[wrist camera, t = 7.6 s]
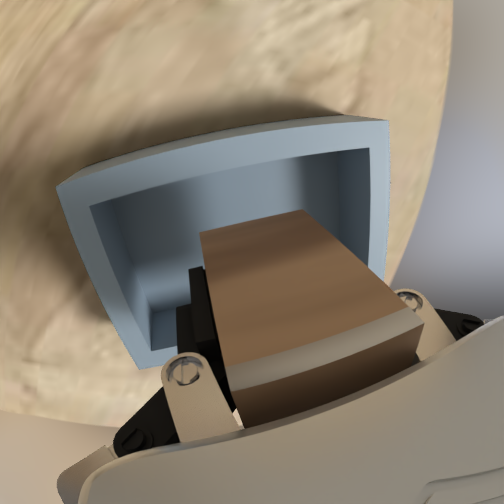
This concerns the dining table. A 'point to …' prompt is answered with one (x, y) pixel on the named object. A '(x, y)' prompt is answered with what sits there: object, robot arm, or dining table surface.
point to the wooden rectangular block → (300, 317)
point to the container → (219, 210)
